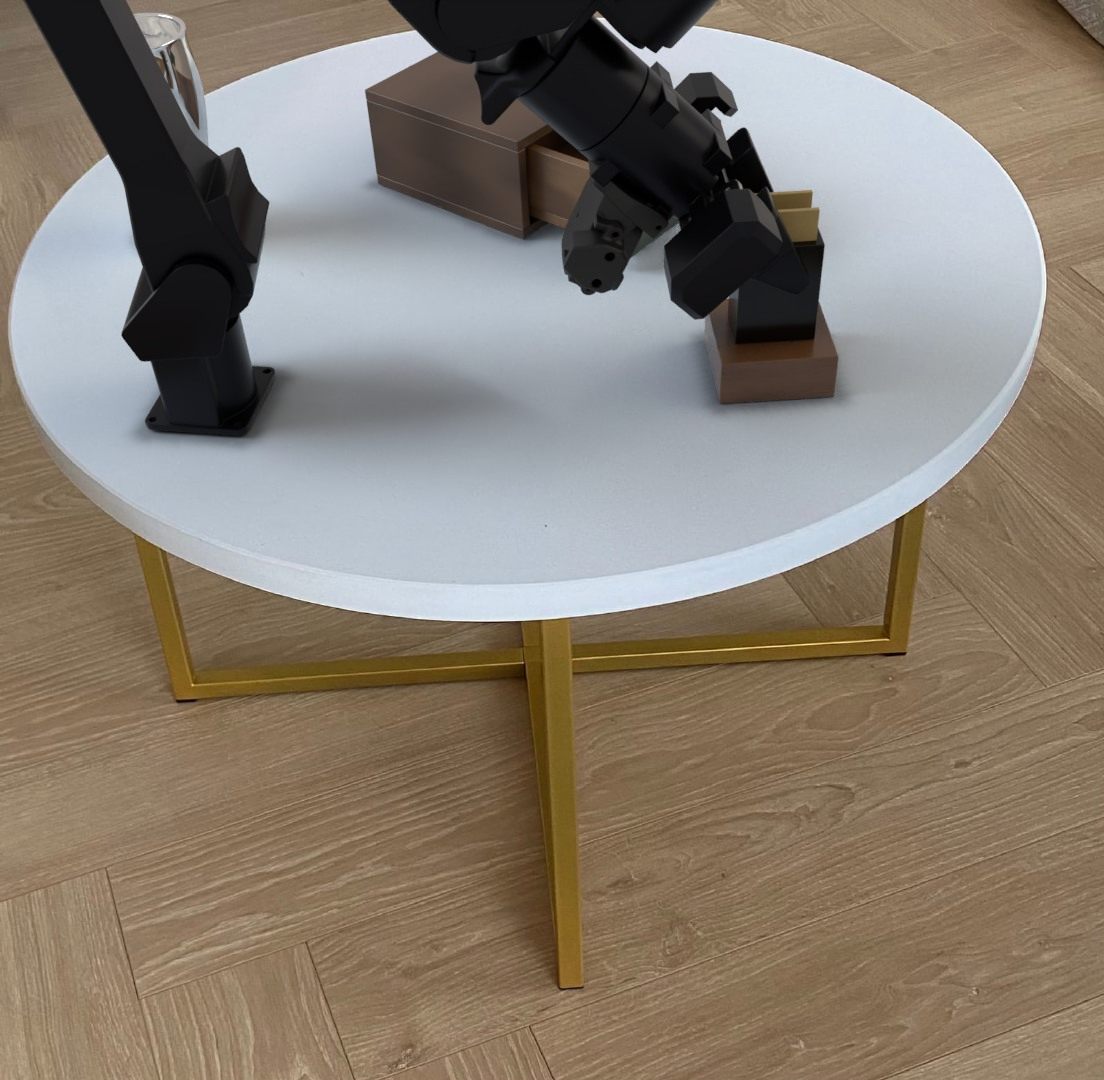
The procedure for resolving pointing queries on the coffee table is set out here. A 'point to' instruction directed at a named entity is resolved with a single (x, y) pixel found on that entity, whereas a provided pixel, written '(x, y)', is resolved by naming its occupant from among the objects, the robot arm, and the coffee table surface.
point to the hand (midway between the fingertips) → (798, 271)
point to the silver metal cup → (177, 66)
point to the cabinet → (453, 145)
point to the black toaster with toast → (771, 309)
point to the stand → (769, 363)
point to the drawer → (561, 182)
